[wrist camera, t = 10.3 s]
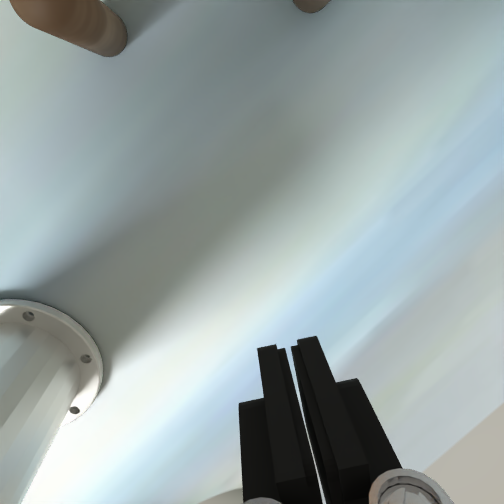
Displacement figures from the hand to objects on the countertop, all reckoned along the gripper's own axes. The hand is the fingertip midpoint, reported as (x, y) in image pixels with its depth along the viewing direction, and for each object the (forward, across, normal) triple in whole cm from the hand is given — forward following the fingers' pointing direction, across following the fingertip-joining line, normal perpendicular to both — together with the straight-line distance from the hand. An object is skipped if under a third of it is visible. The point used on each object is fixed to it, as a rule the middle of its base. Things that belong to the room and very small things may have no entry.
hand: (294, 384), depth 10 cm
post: (+19, +7, -13) cm, 24 cm away
